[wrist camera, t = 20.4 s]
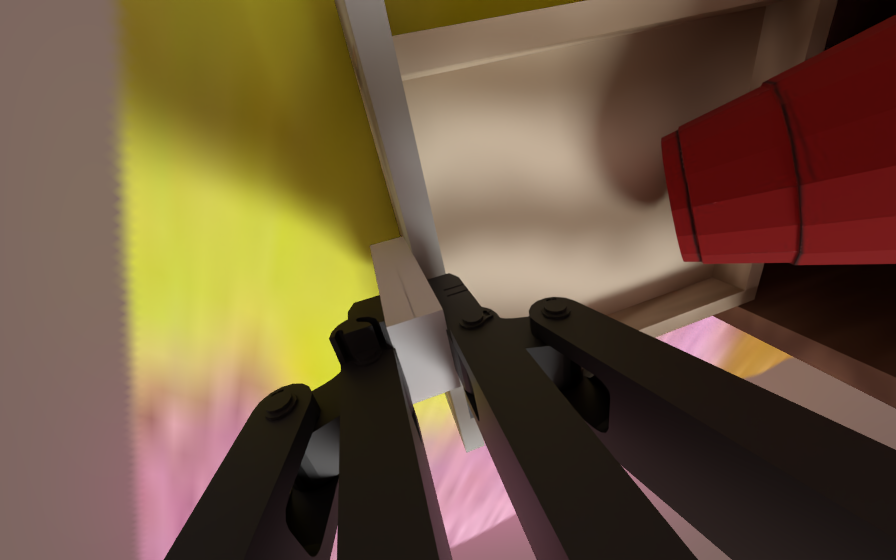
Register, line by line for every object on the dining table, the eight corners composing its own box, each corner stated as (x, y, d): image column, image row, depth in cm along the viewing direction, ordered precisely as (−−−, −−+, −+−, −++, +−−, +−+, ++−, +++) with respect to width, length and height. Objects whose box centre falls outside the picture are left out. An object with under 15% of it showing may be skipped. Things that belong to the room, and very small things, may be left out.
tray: (334, 1, 11) (329, -57, 8) (774, -70, 14) (912, -134, 11) (446, 397, 20) (466, 452, 17) (702, 301, 23) (765, 331, 20)
